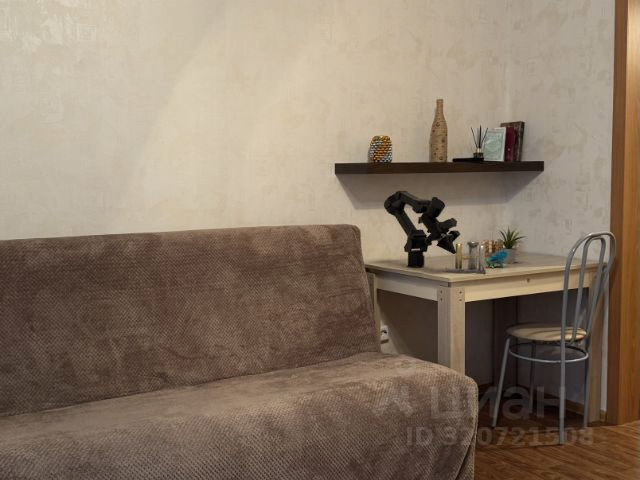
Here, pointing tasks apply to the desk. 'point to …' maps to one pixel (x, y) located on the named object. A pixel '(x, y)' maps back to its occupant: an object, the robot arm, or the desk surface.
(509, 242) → the house plant
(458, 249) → the swing leg
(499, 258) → the blue animal figurine
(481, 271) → the bolt plate
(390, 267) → the desk surface
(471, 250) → the grey stone tower
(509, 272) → the desk surface
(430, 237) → the robot arm
